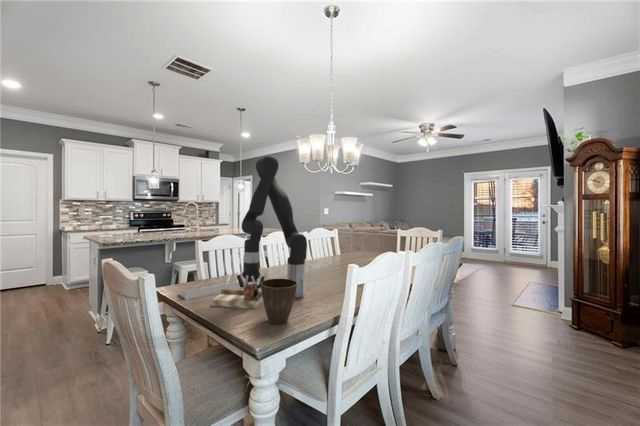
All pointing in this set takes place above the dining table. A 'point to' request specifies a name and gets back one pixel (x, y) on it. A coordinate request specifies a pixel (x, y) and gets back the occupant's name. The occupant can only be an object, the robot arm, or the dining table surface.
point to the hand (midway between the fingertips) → (250, 296)
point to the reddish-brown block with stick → (249, 292)
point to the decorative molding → (209, 290)
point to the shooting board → (236, 299)
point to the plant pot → (278, 298)
